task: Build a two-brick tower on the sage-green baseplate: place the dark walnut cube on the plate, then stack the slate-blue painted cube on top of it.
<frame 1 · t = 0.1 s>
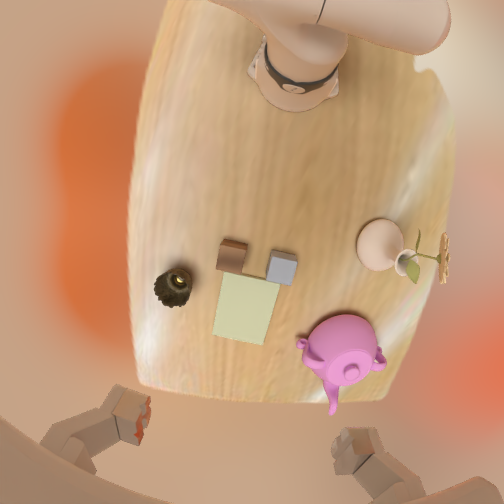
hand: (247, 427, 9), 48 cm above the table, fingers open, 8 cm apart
teapot: (335, 346, 63), on the table
walnut block: (233, 252, 58), on the table
slate block: (280, 263, 58), on the table
flower in vase: (378, 239, 56), on the table
dark brown round piece: (182, 276, 60), on the table
base plate: (244, 308, 61), on the table
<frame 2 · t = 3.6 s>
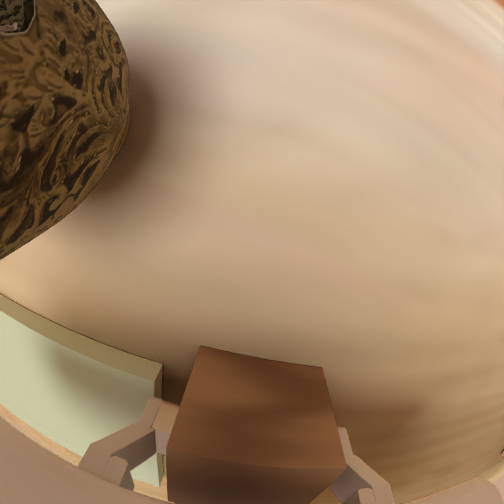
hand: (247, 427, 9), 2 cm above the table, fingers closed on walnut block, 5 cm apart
walnut block: (249, 399, 11), on the table, touching gripper
dark brown round piece: (97, 128, 8), on the table
base plate: (49, 388, 12), on the table
when the fingers open (4 cm above the table, at t = 8.8 s): walnut block drops 1 cm, resting on base plate.
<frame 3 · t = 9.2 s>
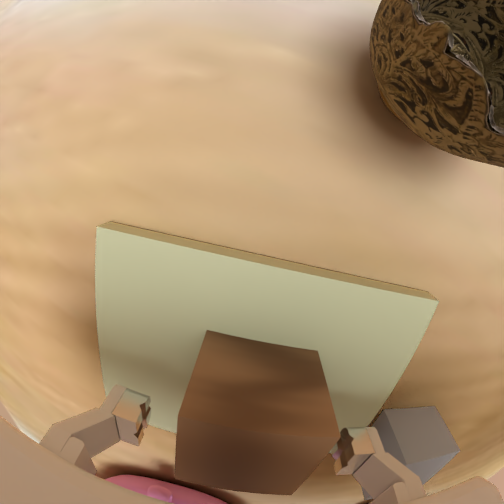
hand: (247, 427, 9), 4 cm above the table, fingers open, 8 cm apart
teapot: (153, 492, 20), on the table
walnut block: (251, 382, 12), point 1 cm above the table, touching base plate
slate block: (394, 429, 15), on the table
dark brown round piece: (404, 93, 10), on the table
base plate: (250, 367, 13), on the table
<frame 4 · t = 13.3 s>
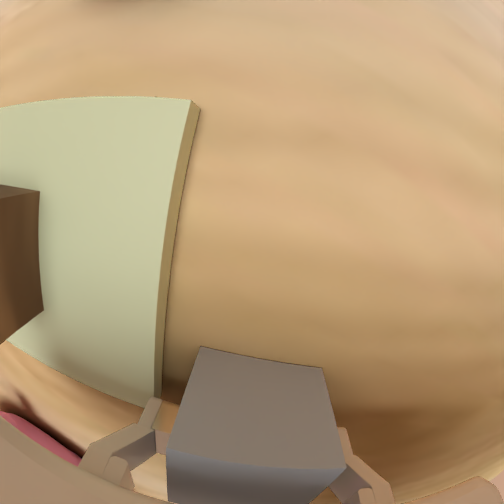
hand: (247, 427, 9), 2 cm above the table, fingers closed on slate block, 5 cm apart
teapot: (43, 447, 16), on the table
walnut block: (5, 242, 8), point 1 cm above the table, touching base plate
slate block: (249, 399, 11), on the table, touching gripper
base plate: (21, 236, 9), on the table
when the fingers open (9 cm above the table, at t = 17.7 s): slate block drops 1 cm, resting on walnut block.
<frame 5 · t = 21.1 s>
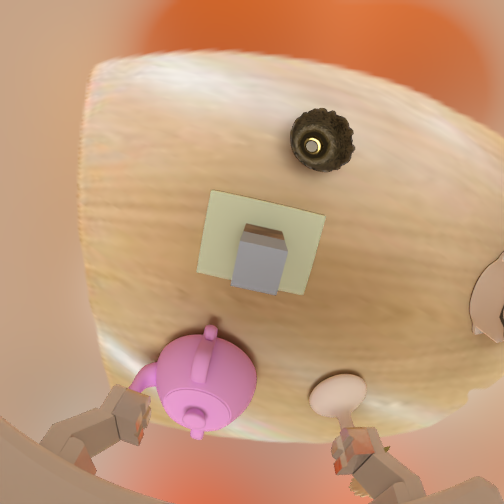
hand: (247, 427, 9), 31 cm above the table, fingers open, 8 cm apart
teapot: (196, 362, 46), on the table
walnut block: (260, 244, 38), point 1 cm above the table, touching base plate, slate block
slate block: (259, 255, 33), point 6 cm above the table, touching walnut block
flower in vase: (340, 390, 47), on the table
dark brown round piece: (311, 146, 36), on the table
base plate: (259, 242, 39), on the table
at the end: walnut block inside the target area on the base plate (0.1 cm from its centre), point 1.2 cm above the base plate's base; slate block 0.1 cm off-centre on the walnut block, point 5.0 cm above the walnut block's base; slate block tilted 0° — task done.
